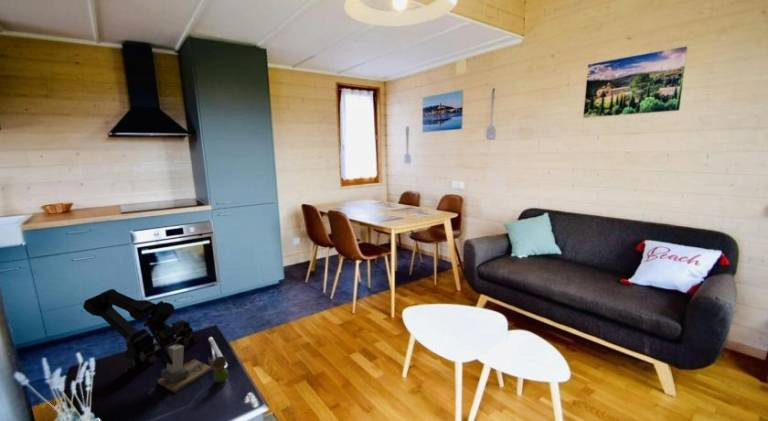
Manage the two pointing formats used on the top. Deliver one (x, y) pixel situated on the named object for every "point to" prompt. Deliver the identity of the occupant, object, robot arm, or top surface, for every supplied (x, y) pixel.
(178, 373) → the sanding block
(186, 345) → the door stopper
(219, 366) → the snail figurine
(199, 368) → the oak board
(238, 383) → the top surface
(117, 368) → the top surface
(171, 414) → the top surface
